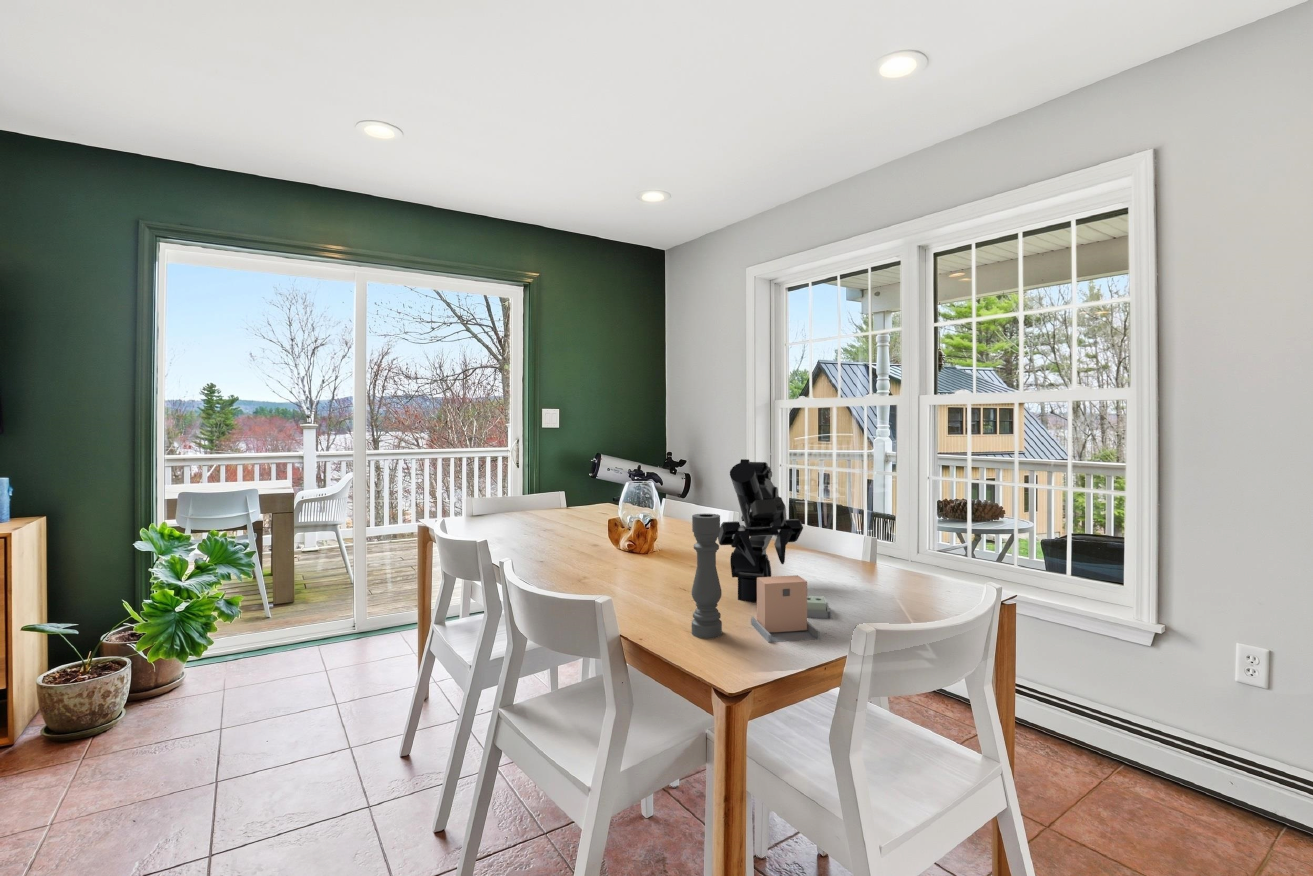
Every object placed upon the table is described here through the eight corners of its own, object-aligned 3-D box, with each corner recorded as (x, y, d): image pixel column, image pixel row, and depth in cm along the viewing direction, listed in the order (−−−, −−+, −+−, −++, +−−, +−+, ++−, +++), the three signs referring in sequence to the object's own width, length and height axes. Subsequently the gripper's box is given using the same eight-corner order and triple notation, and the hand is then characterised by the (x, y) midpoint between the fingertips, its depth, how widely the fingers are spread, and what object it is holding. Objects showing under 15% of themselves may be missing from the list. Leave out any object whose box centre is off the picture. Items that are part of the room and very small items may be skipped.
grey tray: (751, 628, 135) (751, 617, 135) (798, 625, 137) (798, 614, 137) (768, 647, 124) (768, 634, 124) (820, 643, 126) (820, 631, 126)
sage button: (801, 611, 141) (801, 601, 140) (800, 604, 146) (800, 595, 146) (826, 612, 140) (826, 602, 139) (824, 605, 145) (824, 596, 145)
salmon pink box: (756, 624, 134) (756, 577, 133) (797, 622, 135) (797, 575, 135) (765, 633, 129) (765, 584, 128) (807, 630, 130) (807, 581, 130)
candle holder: (703, 630, 134) (702, 512, 133) (728, 637, 130) (727, 515, 129) (685, 639, 130) (684, 516, 129) (710, 645, 126) (710, 519, 125)
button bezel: (795, 621, 139) (795, 611, 139) (794, 610, 147) (794, 600, 147) (833, 623, 138) (833, 612, 138) (830, 612, 146) (830, 602, 146)
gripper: (721, 486, 143) (736, 545, 132) (799, 484, 146) (820, 541, 135) (711, 515, 151) (725, 573, 140) (786, 513, 154) (805, 569, 144)
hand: (769, 564), depth 140 cm, fingers open, 6 cm apart
